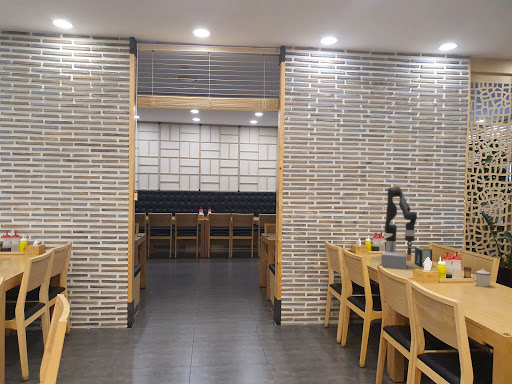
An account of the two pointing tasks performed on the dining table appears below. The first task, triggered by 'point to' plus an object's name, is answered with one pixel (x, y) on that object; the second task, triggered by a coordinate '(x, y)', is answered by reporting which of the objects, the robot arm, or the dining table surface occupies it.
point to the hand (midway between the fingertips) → (409, 254)
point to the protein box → (422, 255)
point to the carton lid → (397, 255)
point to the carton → (393, 262)
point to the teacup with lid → (482, 278)
